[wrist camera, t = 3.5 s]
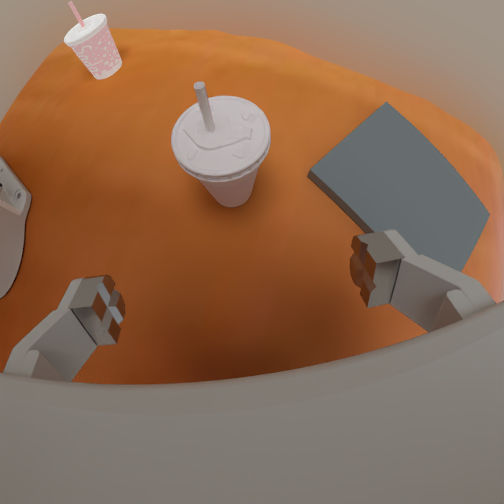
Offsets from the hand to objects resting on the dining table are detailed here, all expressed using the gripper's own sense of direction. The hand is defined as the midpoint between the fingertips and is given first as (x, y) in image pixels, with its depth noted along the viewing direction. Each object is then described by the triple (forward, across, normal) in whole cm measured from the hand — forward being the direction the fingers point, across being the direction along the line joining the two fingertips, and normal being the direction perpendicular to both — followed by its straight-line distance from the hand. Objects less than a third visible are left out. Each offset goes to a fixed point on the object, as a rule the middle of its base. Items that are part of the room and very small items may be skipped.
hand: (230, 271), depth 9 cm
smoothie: (+18, 0, +4) cm, 18 cm away
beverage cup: (+34, +15, -12) cm, 39 cm away
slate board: (+15, -18, +6) cm, 25 cm away
